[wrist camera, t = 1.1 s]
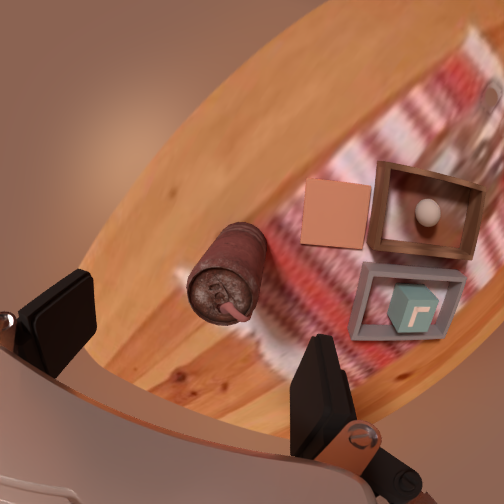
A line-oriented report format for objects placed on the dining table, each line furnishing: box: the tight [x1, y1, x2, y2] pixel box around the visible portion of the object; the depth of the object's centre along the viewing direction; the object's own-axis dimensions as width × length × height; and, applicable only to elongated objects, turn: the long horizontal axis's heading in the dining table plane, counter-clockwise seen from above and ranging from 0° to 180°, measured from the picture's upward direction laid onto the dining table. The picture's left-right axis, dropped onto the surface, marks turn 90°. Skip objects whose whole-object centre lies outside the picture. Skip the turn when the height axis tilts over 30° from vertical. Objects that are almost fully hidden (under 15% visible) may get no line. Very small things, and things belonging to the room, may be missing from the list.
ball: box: [415, 199, 441, 227], centre depth 29 cm, size 4×4×4 cm
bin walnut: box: [366, 161, 486, 260], centre depth 29 cm, size 16×10×3 cm, turn 87°
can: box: [186, 222, 267, 326], centre depth 28 cm, size 6×6×14 cm
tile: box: [300, 178, 371, 249], centre depth 32 cm, size 8×8×1 cm
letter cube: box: [387, 283, 439, 333], centre depth 33 cm, size 5×5×5 cm
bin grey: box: [348, 262, 467, 341], centre depth 34 cm, size 16×10×3 cm, turn 87°
